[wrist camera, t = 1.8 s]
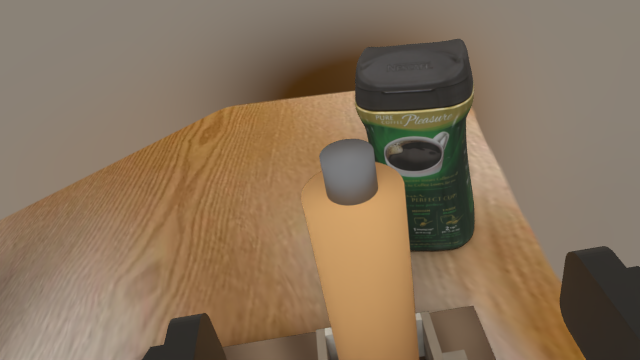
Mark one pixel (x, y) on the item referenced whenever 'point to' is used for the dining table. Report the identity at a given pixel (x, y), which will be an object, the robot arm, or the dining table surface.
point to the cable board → (432, 332)
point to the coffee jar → (422, 133)
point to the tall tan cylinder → (362, 253)
